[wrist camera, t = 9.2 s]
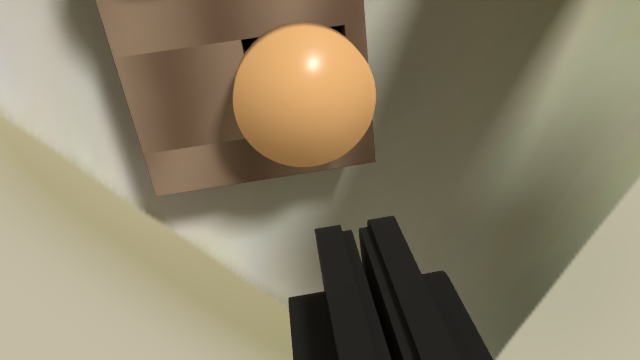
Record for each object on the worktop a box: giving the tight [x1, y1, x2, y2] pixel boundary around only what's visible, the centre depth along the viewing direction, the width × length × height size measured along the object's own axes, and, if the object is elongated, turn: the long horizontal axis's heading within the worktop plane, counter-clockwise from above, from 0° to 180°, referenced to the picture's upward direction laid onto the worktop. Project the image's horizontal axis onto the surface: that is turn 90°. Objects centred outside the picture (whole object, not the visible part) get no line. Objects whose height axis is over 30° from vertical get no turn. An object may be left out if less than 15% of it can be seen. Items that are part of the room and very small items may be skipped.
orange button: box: [233, 22, 376, 167], centre depth 25 cm, size 6×6×7 cm
